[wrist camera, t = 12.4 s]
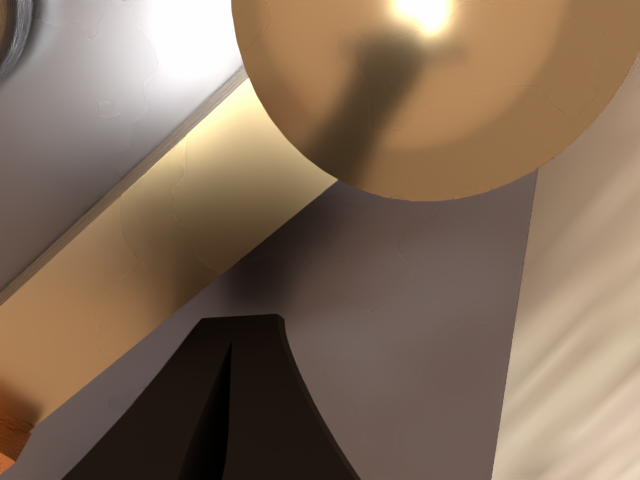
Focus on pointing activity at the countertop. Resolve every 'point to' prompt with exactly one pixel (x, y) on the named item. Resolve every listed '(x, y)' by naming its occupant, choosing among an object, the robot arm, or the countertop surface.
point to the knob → (306, 159)
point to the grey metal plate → (260, 248)
